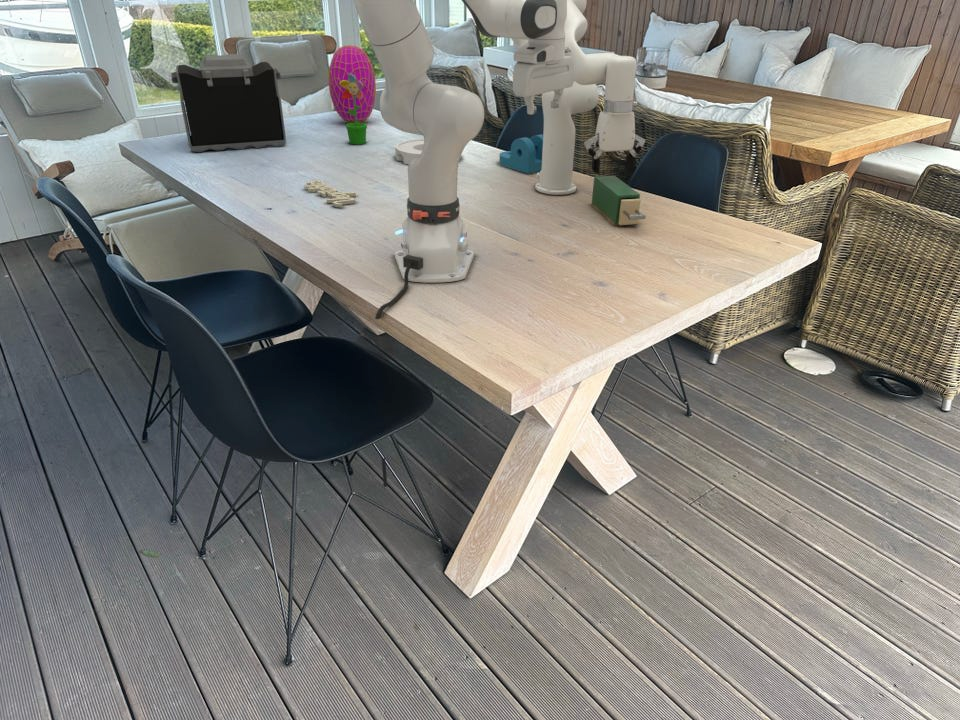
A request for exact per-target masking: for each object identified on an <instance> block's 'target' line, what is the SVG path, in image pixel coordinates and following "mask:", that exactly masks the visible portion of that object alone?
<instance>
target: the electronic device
mask: <svg viewBox="0 0 960 720" xmlns="http://www.w3.org/2000/svg"><path fill="white" fill-rule="evenodd" d="M203 55H204V56H203V60H201V61H199V63H198V65H199V68H200V69H198V68H195V67H192V66H190V65H187V64H177V65H176V66H175V69H176V70H175V72H170V74H171V75H170V79H171V83H172V84H177V85H178V91H179V99H180V100H179V102H180V108H181V113H182V117H183V122H184V127H185V132H186V138H187V143H188V146H189V149H190V150H191V152H194V153H204V152H206V151H208V150H213V151H216V152H219V151H224V150H226V149H234V150H244V149H246V148H248V147H253V148H255V149H260V148H265V147H266V146H272V147H282V146H284V145H286V141H287V137H286V130H285V120H284V112H283V105H282V98H281V96H280V92H279V86H278V79H282V77H281V72H280V71H279V70H278V69H277V68H274V67H273V66H272V65H271V63H270V62H269V61H260V62H259V63H256V64H254V65H251V64H250V63H249V61H248V60H246V59H244V57H243V56H242V54H241V53H228V54H224V55H223V54H222V55H220V54H219V55H217V54H203Z"/></svg>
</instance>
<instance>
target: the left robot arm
mask: <svg viewBox="0 0 960 720" xmlns="http://www.w3.org/2000/svg"><path fill="white" fill-rule="evenodd" d="M353 1H354V5H355V9H356V12H357V15H358V18H359V21H360V24H361V26H362V29H363V32H364V34H365V36H366V38H367V40H368V42H369V44H370V47H371V48H372V50H373V51H372V52H373V53H374V55H375V57H376V59H377V61H378V63H379V66H380V69H381V71H382V73H383V76H384V82H385V87H384V88H383V90H382V91H381V95H380V98H379V112H380V115H381V117H382V119H383V121H384V122H385V123H386V124H388V125H389V126H391V127H393V128H395V129H396V130H399V131H401V132H403V133H405V134H411V135H415V136H416V135H417V136H422V137H423V139H424V146H423V150H422V153H421V154H419V155H418V156H416V157H415V158H413V159H412V160H411V162H410V163H409V165H407V184H408V186H407V187H408V198H407V199H406V211H407V213H406V214H407V217H406V218H405V219H404V220H403V221H402V223H401V229H399V230H397V231H395V232H394V233H395V234H394V235H399V234H400V235H401V234H402V242H401V244H400V247H401V249H400V250H397V251H395V252H394V259H395V262H396V264H397V267H398V269H399V272H400V274H401V277H402V279H403V280H404V283H403V284H404V285H403V287H402V289H401V290H400V291H399V292H398V293H397V295H395V296H394V297H393V298H392V299H391V300H390V301H389V302H386V303H384V304H382V305H381V306H380V307H379V308H378V310H377V311H376V314H375V317H374V319H375V320H379V319H380V317H381V315H382V313H383V312H384V310H385V309H387V308H389V307H391V306H393V305H394V304H395V303H396V302H397V301H398V300H399V299H400V298H401V297H402V296H403V295H404V294H405V293H406V292H407V290H408V287H409V282H414V283H431V284H433V283H435V284H437V283H451V282H457V281H461V280H464V279H466V277H467V274H468V273H469V269H470V267H471V265H472V262H473V260H474V257H475V251H473V250H471V249H468V245H469V243H468V242H467V241H466V238H467V236H468V232H467V231H466V221H465V220H464V219H463V218H461V216H460V208H461V207H460V206H461V205H460V198H459V197H458V169H459V163H460V160H461V159H460V157H461V158H462V154H463V152H464V149H465V148H466V146H467V145H468V144H469V143H470V142H471V141H472V140H474V139H475V138H476V137H477V136H478V134H479V133H480V132H481V130H482V128H483V125H484V122H485V107H484V104H483V101H482V99H481V98H480V97H479V95H477V94H476V93H474V92H472V91H469V90H467V89H465V88H463V87H460V86H456V85H449V84H442V83H436V82H433V81H432V80H431V79H430V78H429V76H428V73H427V72H428V70H429V69H430V67H431V66H432V64H433V61H434V56H435V49H434V45H433V43H432V41H431V38H430V36H429V33H428V31H427V28H426V25H425V24H424V21H423V18H422V16H421V14H420V12H419V9H418V7H417V5H416V2H415V1H414V0H353ZM461 2H462V3H463V4H464V5H465V7H466V8H467V9H468V11H469V13H470V14H471V16H472V19H473V21H474V24H475V26H476V28H477V30H478V32H479V33H480V34H481V35H482V36H484V37H485V38H489V39H490V38H493V39H494V38H505V39H511V38H513V39H525V40H528V42H527V43H526V44H525V45H523V46H522V47H521V48H520V49H518V48H517V49H516V50H515V51H514V52H513V61H514V62H516V63H515V64H514V65H513V69H512V70H513V71H512V92H513V94H514V96H515V97H520V98H523V100H524V104H525V106H526V114H527V115H531V116H532V115H535V114H537V106H536V105H535V103H534V100H535V96H538V95H542V94H543V93H547V92H551V91H554V93H555V94H554V98H553V100H551V108H559V107H560V100H561V98H562V95H563V92H564V88H568V87H572V85H573V83H574V60H573V58H572V52H571V50H570V49H569V48H568V47H566V48H565V30H564V25H565V21H566V17H567V0H461ZM381 468H382V481H383V482H382V483H383V487H384V488H386V487H388V478H387V476H388V475H387V463H386V457H384V458H383V457H382V458H381Z"/></svg>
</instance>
